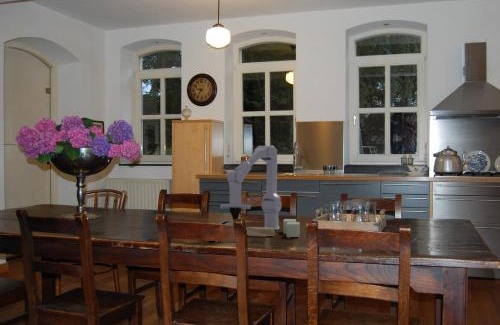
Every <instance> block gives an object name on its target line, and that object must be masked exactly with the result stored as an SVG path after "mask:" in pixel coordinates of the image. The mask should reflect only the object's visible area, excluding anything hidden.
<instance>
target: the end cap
mask: <svg viewBox="0 0 500 325" xmlns="http://www.w3.org/2000/svg"><path fill="white" fill-rule="evenodd" d="M300 226H301V225H300V221H296V222H287V234H286V238H290V237H299V238H300V236H299V235H300V232H301V231H300V229H301V228H300Z"/></svg>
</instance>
